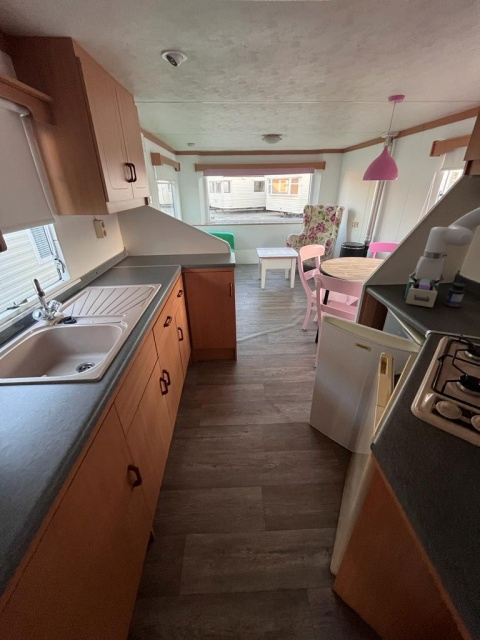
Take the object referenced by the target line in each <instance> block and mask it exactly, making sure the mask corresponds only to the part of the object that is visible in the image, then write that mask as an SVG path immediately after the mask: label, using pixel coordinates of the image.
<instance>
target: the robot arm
mask: <svg viewBox="0 0 480 640" xmlns="http://www.w3.org/2000/svg"><path fill="white" fill-rule="evenodd" d="M478 226H480V206H479V207H477V208H476V209H474V210H472V211H470V212H468V213H466V214H464V215H462V216H461V217H460V218H458V219H457V220H455V221H454V222H453V223H451V224H450V225H448V226H447V227H446V226H434V227H432V228H431V229H430V231H429V235H428V237H427V242H426V244H425V249H424V252H423V255H422V256H420V258H419V259H418V261H417V264H416V267H415V269H414V271H413V272H412V273H410V274H411V275H410V274H409V276H408V278H409V277H410V278H411V279H412V280H413V281H414V282H415V287H414V288H415V289H418V288H419V282H420V281H421V279H430V289H429V291H431V290H432V287H433V286H434V285H435V284H436V283H440V282H442V281H444V280H445V278H444V276H443V274H442V272H443V267H444V261H445V260H444V257H448V253H446V252H445V251H446V248H447V245H450V246H458V247H463V246H466V245H468V244H470V243H471V242H472V241H473V240H474V238H475V235H474V231H472V229H475V228H476V227H478ZM414 276H416V278H417V279H416V278H414Z"/></svg>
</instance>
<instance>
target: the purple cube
mask: <svg viewBox="0 0 480 640" xmlns="http://www.w3.org/2000/svg"><path fill="white" fill-rule="evenodd" d="M418 289H422V290H429V289H430V284H429V283H425V282H419V288H418Z"/></svg>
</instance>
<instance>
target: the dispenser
mask: <svg viewBox="0 0 480 640" xmlns="http://www.w3.org/2000/svg"><path fill="white" fill-rule="evenodd" d="M411 274H412V273H410V274H409V276H410V275H411ZM409 276H408V280H407V284H406V288H405V293H404V300H406V299H407V296H408V292H409V289H410V286H411V283H413V284H415V282H414V281H413V280H412V279H411V278H410V277H409ZM414 278H416V276H414ZM416 279H417V278H416ZM420 282H425V283H429V284H430V279H421V281H420ZM439 283H440V282H438V283H436V284H435V285H434V286H435V291H437V292H438V289H439V286H440V284H439Z"/></svg>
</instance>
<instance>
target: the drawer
mask: <svg viewBox="0 0 480 640" xmlns="http://www.w3.org/2000/svg"><path fill="white" fill-rule="evenodd" d="M414 287H415V284H413V283H411V286H410V289H409V292H408V296H407V299H405V304H408V305H415V306H422V307H428V308H433V307H434V306H435V302H436V298H437V295H438V293H439V292H438V290H437V291H435V286H433V287H432V290H431V291H429V290H422V289H415V288H414Z"/></svg>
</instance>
